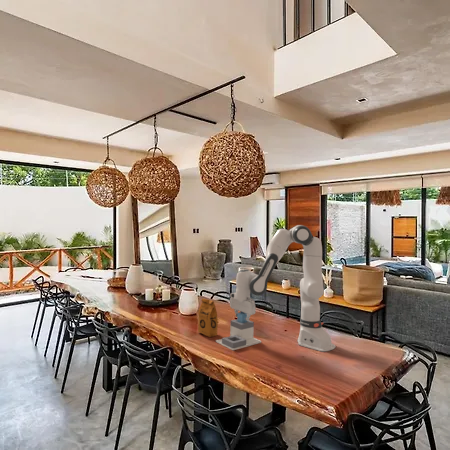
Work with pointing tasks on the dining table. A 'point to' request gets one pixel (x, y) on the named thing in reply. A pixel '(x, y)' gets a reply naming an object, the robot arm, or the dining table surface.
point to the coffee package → (207, 318)
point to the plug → (241, 317)
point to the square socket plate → (239, 335)
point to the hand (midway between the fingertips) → (242, 318)
